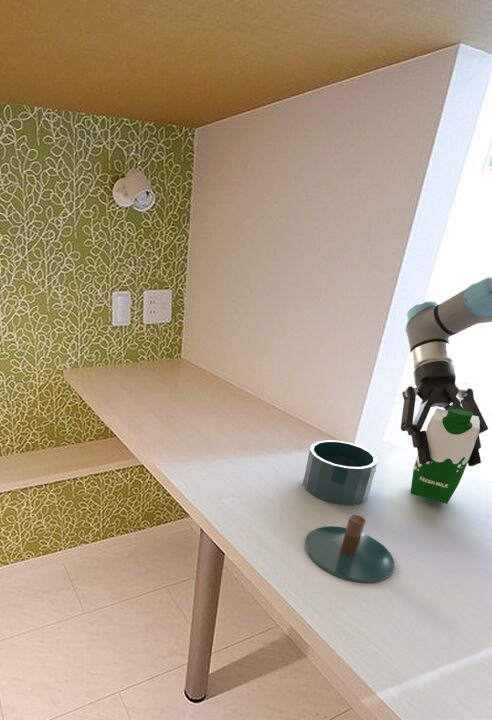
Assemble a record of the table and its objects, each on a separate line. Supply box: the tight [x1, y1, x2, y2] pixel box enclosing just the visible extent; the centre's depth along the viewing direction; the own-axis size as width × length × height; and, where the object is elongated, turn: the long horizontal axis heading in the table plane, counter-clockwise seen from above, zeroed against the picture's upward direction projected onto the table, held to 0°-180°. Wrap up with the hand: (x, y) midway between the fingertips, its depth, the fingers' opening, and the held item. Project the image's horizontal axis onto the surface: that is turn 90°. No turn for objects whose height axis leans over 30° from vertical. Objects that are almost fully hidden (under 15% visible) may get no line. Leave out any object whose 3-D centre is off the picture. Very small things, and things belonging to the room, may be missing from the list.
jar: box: [302, 439, 378, 506], centre depth 97 cm, size 14×14×10 cm
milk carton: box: [410, 408, 480, 505], centre depth 92 cm, size 9×9×20 cm
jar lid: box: [304, 514, 395, 584], centre depth 77 cm, size 15×15×8 cm
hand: (449, 463), depth 90 cm, fingers closed on milk carton, 9 cm apart
